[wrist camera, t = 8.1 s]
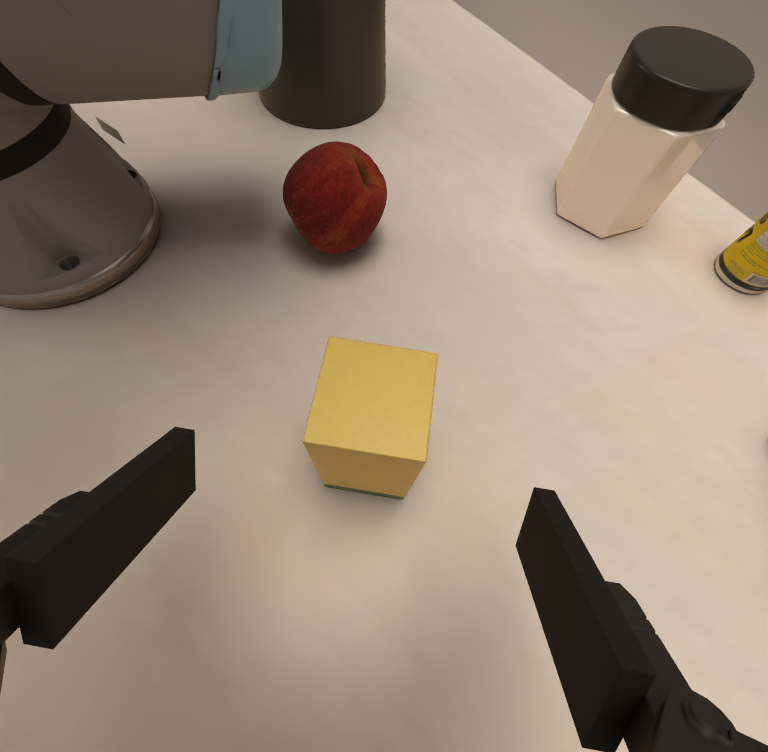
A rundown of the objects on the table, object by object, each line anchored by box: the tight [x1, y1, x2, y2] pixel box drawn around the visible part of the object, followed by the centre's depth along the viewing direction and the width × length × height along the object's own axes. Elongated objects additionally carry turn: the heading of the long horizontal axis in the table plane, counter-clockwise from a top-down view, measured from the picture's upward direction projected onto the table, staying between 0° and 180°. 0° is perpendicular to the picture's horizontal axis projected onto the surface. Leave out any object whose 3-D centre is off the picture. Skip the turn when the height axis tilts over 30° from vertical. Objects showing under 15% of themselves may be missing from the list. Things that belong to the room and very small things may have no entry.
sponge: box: [303, 337, 438, 499], centre depth 21 cm, size 5×5×10 cm
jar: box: [556, 26, 754, 238], centre depth 31 cm, size 9×8×12 cm
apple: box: [283, 142, 387, 254], centre depth 30 cm, size 7×8×8 cm
